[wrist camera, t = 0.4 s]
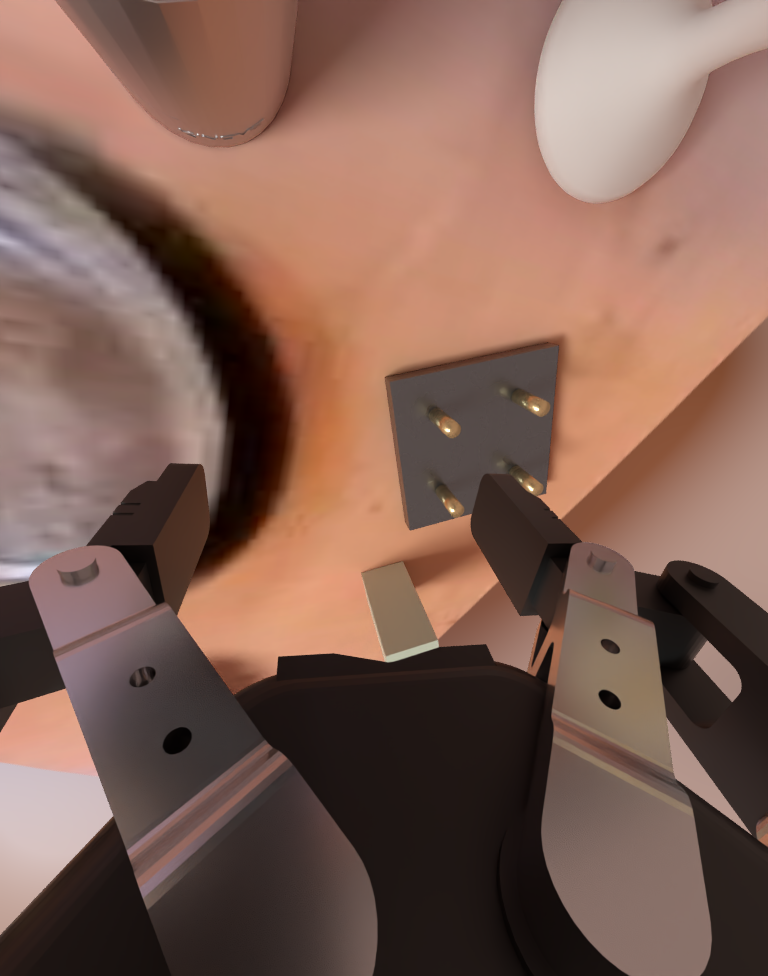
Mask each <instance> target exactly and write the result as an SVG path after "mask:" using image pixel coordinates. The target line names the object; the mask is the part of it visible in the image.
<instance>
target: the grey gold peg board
mask: <svg viewBox="0 0 768 976" xmlns="http://www.w3.org/2000/svg"><path fill="white" fill-rule="evenodd" d="M558 351H559V345H555V344H552V343H548V342H547V343H543V344H538V345H533V346H529V347H524V348H519V349H514V350H510V351H505V352H500V353H496V354H491V355H486V356H482V357H477V358H472V359H468V360H463V361H458V362H454V363H449V364H444V365H440V366H435V367H430V368H426V369H421V370H416V371H412V372H407V373H402V374H398V375H393V376H388V377H385V382H386V390H387V397H388V404H389V411H390V418H391V425H392V432H393V439H394V446H395V454H396V461H397V468H398V475H399V482H400V489H401V496H402V503H403V510H404V518H405V522H406V524H407V526H408V528H409V530H414V529H417V528H421V527H425V526H428V525H432V524H436V523H439V522H443V521H447V520H450V519H454V518H458V517H461V516H465V515H469V514H472V512H473V508H474V504H475V500H476V496H477V493H478V489H479V485H480V481H481V479H482V477H483V475H484V474H487V473H488V474H510V475H512V476H513V477H514V478H515V479H516V480H517V481H518V483H519V484H520V485H521V486H522V487H523V488H524V489H525V490H526V491H528V492H530V493H531V494H533V495H535V496H538V495H542V494H546V487H547V476H548V464H549V453H550V442H551V430H552V419H553V407H554V396H555V385H556V373H557V362H558Z"/></svg>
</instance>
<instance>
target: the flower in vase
mask: <svg viewBox="0 0 768 976" xmlns="http://www.w3.org/2000/svg"><path fill="white" fill-rule="evenodd" d="M765 49H768V0H726V1H724V2H722V3H720V4H718V5H716V6H713V7H712V1H711V0H562V2H561V4H560V6H559V8H558V10H557V12H556V14H555V16H554V18H553V20H552V23H551V26H550V28H549V31H548V34H547V36H546V39H545V42H544V46H543V49H542V53H541V57H540V61H539V67H538V72H537V78H536V87H535V108H534V113H535V128H536V134H537V140H538V144H539V148H540V151H541V154H542V157H543V159H544V162H545V164H546V167H547V169H548V170H549V172H550V174H551V176H552V177H553V179H554V180H555V181H556V183H557V184H558V185H559V186H560V187H561V188H562V189H563V190H564V191H565V192H566V193H567V194H569V195H571V196H572V197H574V198H575V199H578V200H581V201H583V202H588V203H607V202H612V201H615V200H618V199H620V198H623V197H625V196H626V195H628V194H630V193H632V192H633V191H635V190H636V189H637V188H639V187H640V186H642V185H643V184H644V183H645V182H647V181H648V180H649V179H650V178H652V177H653V176H654V175H655V174H656V173H657V172H658V171H659V170H660V169H661V168H662V167H663V166H664V165H665V163H666V162H667V161H668V160H669V159H670V157H671V156H672V155H673V153H674V152H675V151H676V149H677V148H678V146H679V144H680V143H681V141H682V140H683V138H684V136H685V134H686V132H687V130H688V129H689V127H690V125H691V123H692V120H693V118H694V116H695V114H696V111H697V109H698V107H699V104H700V102H701V100H702V97H703V94H704V91H705V88H706V85H707V81H708V77H709V73H711V72H712V71H714V70H716V69H718V68H720V67H722V66H724V65H726V64H728V63H730V62H732V61H734V60H737V59H739V58H742V57H744V56H747V55H749V54H752V53H755V52H758V51H761V50H765Z"/></svg>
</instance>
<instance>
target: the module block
mask: <svg viewBox="0 0 768 976" xmlns="http://www.w3.org/2000/svg"><path fill="white" fill-rule="evenodd" d="M361 575H362V579H363V583H364V587H365V592H366V596H367V600H368V604H369V608H370V611H371V615H372V618H373V622H374V625H375V629H376V632H377V636H378V639H379V643H380V646H381V650H382V653H383V657H384V660H385V662H394V661H397V660H400V659H404V658H407V657H410V656H413V655H416V654H419V653H422V652H425V651H429V650H432V649H435V648H438V647H439V645H438V639H437V637H436V634H435V632H434V630H433V628H432V625H431V623H430V621H429V619H428V616H427V614H426V612H425V610H424V607H423V605H422V603H421V601H420V599H419V596H418V594H417V592H416V590H415V587H414V585H413V583H412V581H411V578H410V576H409V574H408V572H407V569H406V567H405V565H404V563H403V561H401V562H398V563H394V564H391V565H387V566H384V567H380V568H377V569H373V570H370V571H366V572H363V573H361Z"/></svg>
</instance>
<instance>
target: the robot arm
mask: <svg viewBox="0 0 768 976" xmlns="http://www.w3.org/2000/svg"><path fill="white" fill-rule="evenodd" d="M55 1H56V2H57V4H58V5H59V6H60V7H61V9H62V10H63V11H64V12H65V13H66V15H67V16H68V17H69V18H70V20H71V21H72V22H73V23H74V25H75V26H76V27H77V28H78V30H79V31H80V32H81V33H82V35H83V36H84V37H85V38H86V40H87V41H88V42H89V43H90V44H91V46H92V47H93V48H94V49H95V51H96V52H97V53H98V54H99V56H100V57H101V58H102V59H103V61H104V62H105V63H106V65H107V66H108V67H109V68H110V70H111V71H112V72H113V73H114V75H115V76H116V77H117V78H118V79H119V81H120V82H121V83H122V84H123V86H124V87H125V88H126V89H127V90H128V92H129V93H130V94H131V95H132V97H133V98H134V99H135V100H136V101H137V102H138V103H139V104H140V105H141V106H142V107H143V108H144V109H145V110H146V112H147V113H148V114H149V115H150V116H151V117H152V118H154V119H155V120H156V121H158V122H159V123H160V124H162V125H163V126H164V127H165V128H167V129H168V130H169V131H171V132H172V133H174V134H176V135H178V136H180V137H182V138H184V139H186V140H188V141H190V142H193V143H197V144H201V145H205V146H209V147H231V146H235V145H239V144H243V143H246V142H248V141H249V140H251V139H253V138H254V137H256V136H257V135H259V134H261V133H262V132H263V130H264V129H265V128H266V127H267V126H268V125H269V124H270V123H271V122H272V121H273V119H274V118H275V116H276V114H277V112H278V110H279V109H280V107H281V105H282V103H283V100H284V97H285V94H286V90H287V87H288V84H289V78H290V70H291V61H292V53H293V44H294V37H295V29H296V19H297V9H298V0H55ZM209 525H210V515H209V506H208V498H207V489H206V481H205V473H204V469H203V466H202V465H201V464H176V463H170V464H169V465H168V466H167V468H166V469H165V471H164V472H163V473H162V475H161V476H160V478H159V479H158V480H157V481H147V482H145V483H143V484H141V485H140V486H138V487H136V488H135V489H133V490H131V491H130V492H129V493H128V494H127V496H126V497H125V498H124V499H123V501H122V502H121V505H119V506H118V507H117V508H116V509H115V511H114V512H113V515H111V516H110V517H109V518H108V519H107V521H106V522H105V523H104V524H103V525H102V527H101V528H100V529H99V530H98V532H97V533H96V534H95V535H94V537H93V538H92V539H91V540H90V542H89V543H88V544H87V545H86V546H84V547H79V548H74V549H71V550H67V551H65V552H62V553H59V554H57V555H55V556H53V557H51V558H49V559H47V560H46V561H44V562H43V563H41V564H40V565H39V566H38V567H37V568H36V569H35V570H34V571H33V572H32V574H31V576H30V578H29V581H26V582H22V583H17V584H12V585H7V586H2V587H0V732H1V730H2V729H3V727H4V725H5V724H6V722H7V720H8V719H9V717H10V715H11V714H12V712H13V710H14V709H15V707H16V705H17V704H18V703H20V702H23V701H27V700H30V699H33V698H36V697H40V696H43V695H46V694H49V693H52V692H56V691H59V690H62V689H65V688H66V689H67V692H68V695H69V698H70V700H71V703H72V706H73V708H74V711H75V714H76V716H77V719H78V722H79V724H80V727H81V730H82V732H83V735H84V738H85V740H86V743H87V746H88V748H89V751H90V754H91V757H92V759H93V762H94V765H95V767H96V770H97V773H98V775H99V778H100V781H101V783H102V786H103V788H104V791H105V794H106V797H107V799H108V802H109V804H110V807H111V810H112V813H113V817H112V818H111V819H110V820H109V821H108V822H107V823H106V824H105V825H104V826H103V828H102V829H101V830H100V831H99V832H98V833H97V834H96V835H95V836H94V837H93V838H92V839H91V840H90V841H89V842H88V843H87V844H86V845H85V847H84V848H83V849H82V850H81V851H80V852H79V853H78V854H77V855H76V856H75V857H74V858H73V859H72V860H71V861H70V862H69V863H68V864H67V865H66V867H65V868H64V869H63V870H62V871H61V872H60V873H59V874H58V875H57V876H56V877H55V878H54V879H53V880H52V881H51V882H50V884H48V886H47V887H46V888H45V889H44V890H43V891H42V892H41V893H40V894H39V895H38V896H37V897H36V898H35V899H34V900H33V901H32V902H31V903H30V904H29V905H28V906H27V907H26V909H25V910H24V911H23V912H22V913H21V914H20V915H19V916H18V917H17V918H16V919H15V920H14V921H13V922H12V924H10V925H9V926H8V927H7V929H6V930H5V931H4V932H3V933H2V934H1V935H0V976H768V613H767V612H766V611H764V610H763V609H762V608H761V607H760V606H758V605H757V604H756V603H754V602H753V601H752V600H751V599H749V597H747V596H746V595H745V594H744V593H742V592H741V591H740V590H739V589H737V588H736V587H735V586H733V585H732V584H731V583H730V582H728V581H727V580H726V579H725V578H723V577H722V576H720V575H719V574H717V573H715V572H713V571H712V570H710V569H707V568H705V567H703V566H700V565H698V564H695V563H691V562H686V561H671V562H669V563H668V564H667V566H666V568H665V569H664V571H663V573H662V574H661V576H656V575H651V574H646V573H641V572H636V571H634V568H633V566H632V565H631V564H630V562H629V561H628V560H627V559H626V558H624V557H623V556H622V555H620V554H619V553H617V552H616V551H614V550H611V549H610V548H607V547H605V546H602V545H599V544H594V543H588V542H582V541H581V540H580V539H579V538H578V537H577V536H576V535H575V534H574V533H573V532H572V531H571V530H570V529H569V528H568V527H567V526H566V525H565V524H564V523H563V522H562V521H561V520H560V519H558V516H557V515H556V514H555V513H554V512H553V511H550V508H549V507H548V506H547V505H546V504H545V503H544V502H543V501H542V500H541V499H540V498H538V497H536V496H535V495H533V494H531V493H530V492H528V491H526V490H525V489H524V488H523V487H522V486H521V485H520V484H519V483H518V481H517V480H516V479H515V478H514V477H513V476H512V475H510V474H488V473H487V474H484V475H483V477H482V479H481V481H480V485H479V489H478V493H477V496H476V500H475V504H474V508H473V512H472V516H471V532H472V535H473V537H474V539H475V541H476V542H477V544H478V546H479V547H480V549H481V551H482V552H483V554H484V556H485V558H486V559H487V561H488V563H489V564H490V566H491V568H492V569H493V571H494V573H495V574H496V576H497V578H498V580H499V581H500V583H501V585H502V586H503V588H504V590H505V591H506V593H507V595H508V596H509V598H510V599H511V602H512V603H513V605H514V607H515V608H516V610H517V612H518V613H519V615H520V616H529V615H539V616H540V617H541V621H540V623H539V625H538V628H537V631H536V635H535V639H534V644H533V648H532V652H531V657H530V661H529V665H528V669H527V672H525V671H523V670H521V669H518V668H516V667H513V666H511V665H507V664H503V663H500V662H495V661H494V660H493V658H492V656H491V654H490V652H489V649H488V647H487V645H486V644H483V645H467V646H451V647H438V648H435V649H432V650H429V651H425V652H422V653H419V654H416V655H413V656H410V657H407V658H404V659H400V660H397V661H394V662H382V661H376V660H370V659H364V658H358V657H352V656H346V655H340V654H334V653H333V654H316V655H299V656H282V657H278V667H277V675H274V676H271V677H268V678H265V679H263V680H261V681H258V682H256V683H254V684H252V685H250V686H248V687H246V688H244V689H243V690H241V691H239V692H238V693H236V694H235V695H233V694H232V693H231V691H230V690H229V689H228V687H227V686H226V684H225V683H224V682H223V680H222V679H221V677H220V676H219V675H218V673H217V672H216V670H215V669H214V668H213V666H212V665H211V663H210V662H209V661H208V659H207V658H206V656H205V655H204V654H203V652H202V651H201V649H200V648H199V646H198V645H197V644H196V642H195V641H194V639H193V638H192V637H191V635H190V634H189V632H188V631H187V630H186V628H185V627H184V625H183V624H182V623H181V621H180V620H179V618H178V617H177V614H178V612H179V609H180V606H181V604H182V601H183V599H184V596H185V593H186V591H187V588H188V586H189V583H190V581H191V578H192V575H193V573H194V570H195V568H196V565H197V562H198V560H199V557H200V555H201V552H202V549H203V547H204V544H205V542H206V539H207V536H208V532H209ZM707 640H708V641H709V642H710V643H711V644H712V645H713V646H714V647H715V648H716V649H717V650H718V651H719V652H720V653H721V654H722V655H723V656H724V657H725V658H726V659H727V660H728V661H729V662H730V663H731V665H732V666H733V667H734V668H735V669H736V671H737V672H738V674H739V676H740V679H741V683H742V689H741V693H740V694H739V695H738V697H737V698H736V699H735V700H734V701H733V702H731V701H730V700H729V699H728V698H727V696H726V695H725V694H724V693H723V692H722V691H721V690H720V689H719V688H718V686H717V685H716V684H715V683H714V682H713V681H712V680H711V679H710V677H709V676H708V675H707V674H706V673H705V672H704V671H703V670H702V669H701V667H700V666H698V664H697V663H696V662H695V661H694V660H693V659H694V658H695V656H696V655H697V654H698V652H699V651H700V649H701V648H702V647H703V645H704V644H705V642H706V641H707ZM666 717H667V718H668V720H669V721H670V723H671V724H672V725H673V727H674V728H675V729H676V731H677V732H678V734H679V735H680V736H681V738H682V739H683V741H684V742H685V743H686V745H687V746H688V747H689V749H690V750H691V751H692V753H693V754H694V756H695V757H696V758H697V760H698V761H699V763H700V764H701V765H702V767H703V768H704V769H705V771H706V772H707V773H708V775H709V776H710V778H711V779H712V780H713V782H714V783H715V785H716V786H717V787H718V789H719V790H720V791H721V793H722V794H723V796H724V797H725V798H726V800H727V801H728V802H729V804H730V805H731V807H732V808H733V809H734V811H735V812H736V813H737V815H738V816H739V818H740V819H741V820H742V821H743V823H744V824H745V826H746V827H747V829H748V830H749V831H750V833H751V834H752V835H753V836H752V835H751V834H749V833H748V832H747V831H745V830H744V829H743V828H741V827H740V826H739V825H737V824H736V823H734V822H733V821H732V820H730V819H729V818H728V817H726V816H725V815H724V814H722V813H721V812H720V811H718V810H717V809H716V808H714V807H713V806H712V805H710V804H709V803H707V802H706V801H705V800H703V799H702V798H701V797H699V796H698V795H696V794H695V793H694V792H693V791H691V790H690V789H689V788H687V787H686V786H685V785H683V784H682V783H681V782H679V781H677V780H676V779H675V776H674V773H673V766H672V758H671V750H670V743H669V734H668V727H667V719H666Z"/></svg>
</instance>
